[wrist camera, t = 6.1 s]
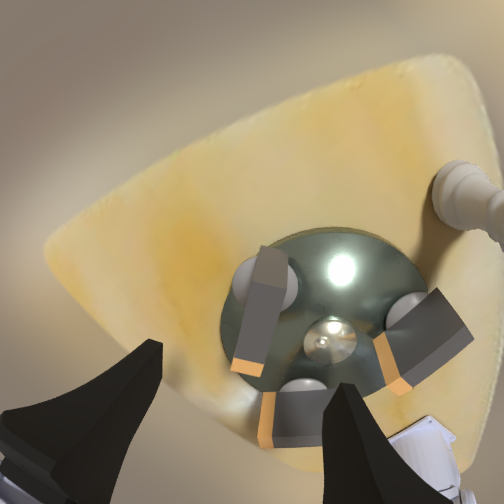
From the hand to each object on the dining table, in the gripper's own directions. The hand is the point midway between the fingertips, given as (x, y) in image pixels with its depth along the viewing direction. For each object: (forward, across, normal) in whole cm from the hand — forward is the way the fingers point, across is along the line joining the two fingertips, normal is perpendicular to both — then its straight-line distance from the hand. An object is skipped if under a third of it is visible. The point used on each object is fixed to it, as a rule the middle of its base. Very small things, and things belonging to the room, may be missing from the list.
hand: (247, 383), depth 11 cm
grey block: (+8, -10, 0) cm, 13 cm away
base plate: (+9, -5, +3) cm, 11 cm away
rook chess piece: (+10, -11, -9) cm, 17 cm away
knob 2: (+8, -5, +9) cm, 13 cm away
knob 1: (+8, 0, 0) cm, 8 cm away
